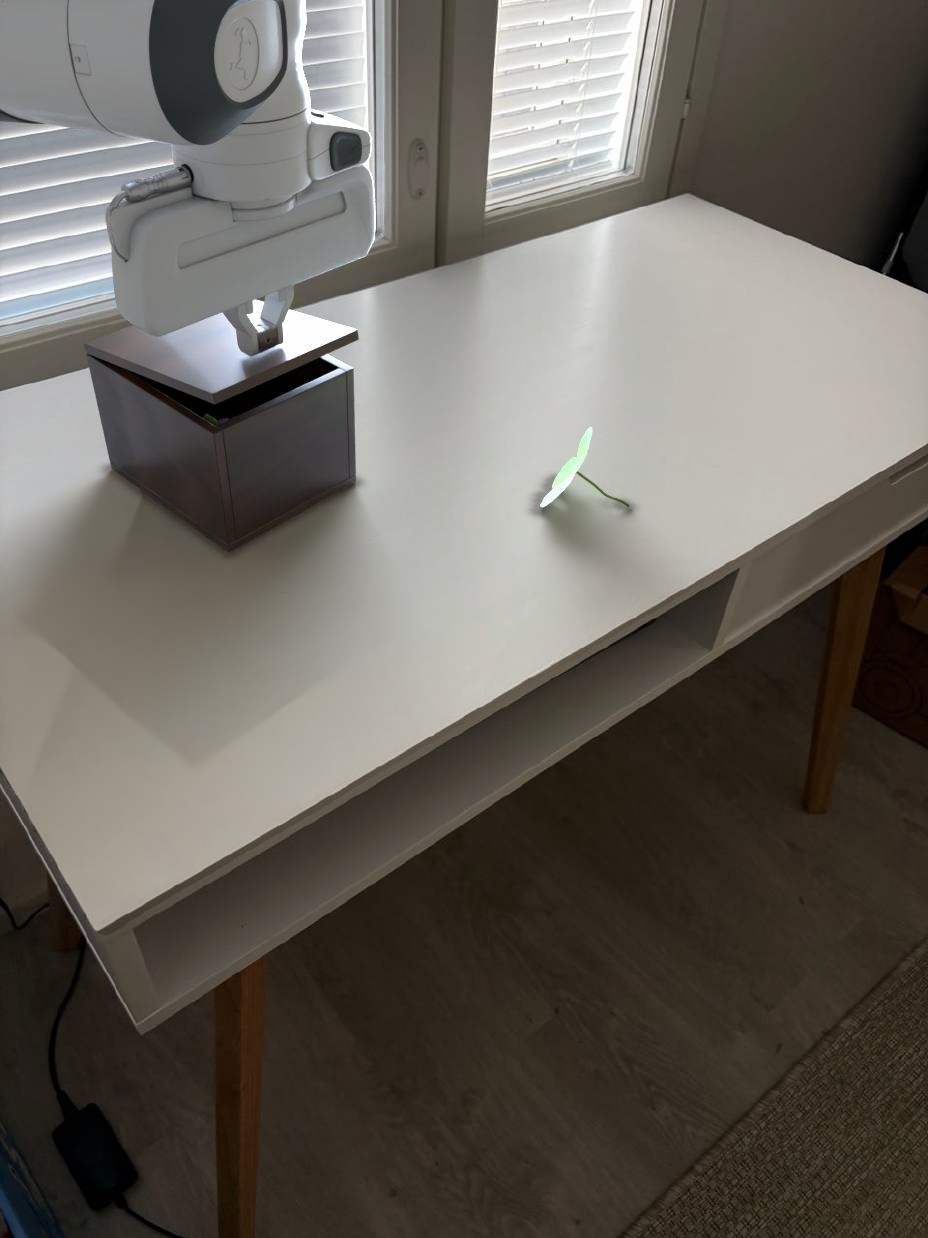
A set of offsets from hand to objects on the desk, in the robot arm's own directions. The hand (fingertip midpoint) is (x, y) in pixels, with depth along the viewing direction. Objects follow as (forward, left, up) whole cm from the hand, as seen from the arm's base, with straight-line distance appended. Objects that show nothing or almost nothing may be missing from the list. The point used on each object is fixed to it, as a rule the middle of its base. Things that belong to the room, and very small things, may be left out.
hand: (261, 347), depth 74 cm
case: (0, +5, -14) cm, 15 cm away
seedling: (+18, -18, -14) cm, 29 cm away
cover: (0, +5, -2) cm, 5 cm away
